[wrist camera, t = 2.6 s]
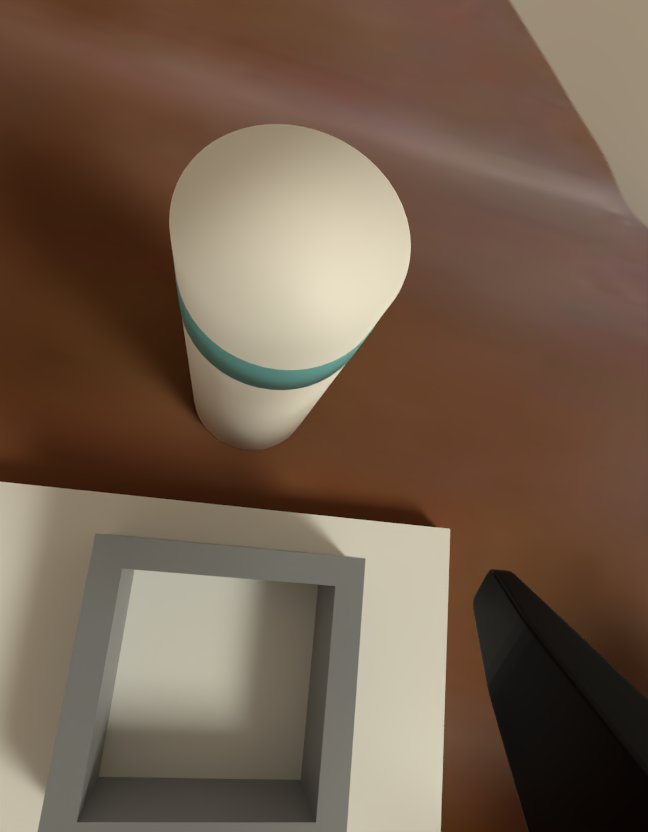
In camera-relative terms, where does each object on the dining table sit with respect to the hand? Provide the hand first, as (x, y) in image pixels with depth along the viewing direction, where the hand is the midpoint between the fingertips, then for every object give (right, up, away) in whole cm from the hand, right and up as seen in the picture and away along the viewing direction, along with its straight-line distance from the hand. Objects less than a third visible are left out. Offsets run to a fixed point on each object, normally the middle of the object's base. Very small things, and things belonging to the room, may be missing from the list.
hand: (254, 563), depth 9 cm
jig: (-3, -7, +11) cm, 13 cm away
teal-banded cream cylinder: (-2, +4, +14) cm, 14 cm away
